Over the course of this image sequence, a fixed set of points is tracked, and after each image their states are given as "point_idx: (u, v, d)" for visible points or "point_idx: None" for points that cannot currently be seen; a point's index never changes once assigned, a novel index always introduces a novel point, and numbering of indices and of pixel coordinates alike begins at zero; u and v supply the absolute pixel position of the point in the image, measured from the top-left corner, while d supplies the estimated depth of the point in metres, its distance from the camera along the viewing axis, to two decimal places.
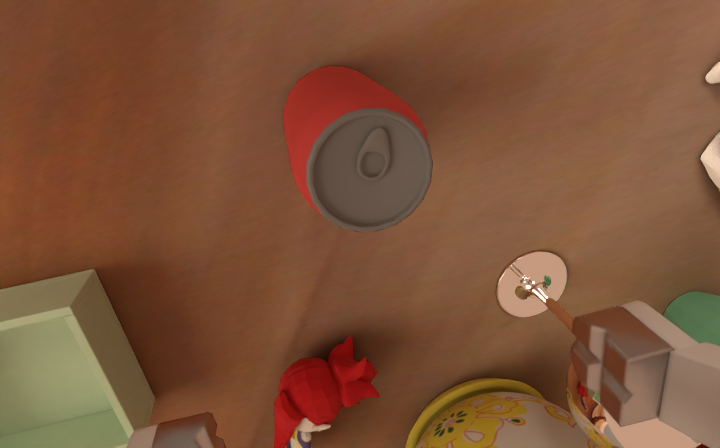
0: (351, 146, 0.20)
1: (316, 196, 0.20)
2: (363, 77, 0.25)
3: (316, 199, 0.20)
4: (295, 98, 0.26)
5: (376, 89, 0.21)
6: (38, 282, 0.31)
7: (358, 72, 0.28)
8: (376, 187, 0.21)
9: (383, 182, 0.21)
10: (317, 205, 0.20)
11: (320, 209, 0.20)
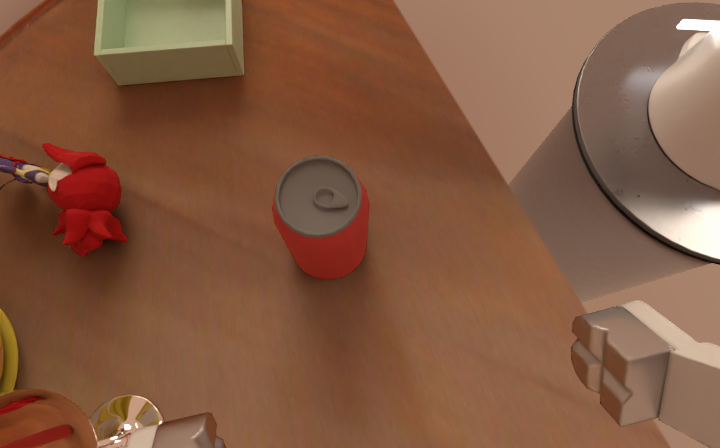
0: (337, 186, 0.30)
1: (308, 159, 0.30)
2: (364, 242, 0.36)
3: (306, 159, 0.30)
4: None
5: (367, 217, 0.32)
6: (242, 43, 0.47)
7: (362, 257, 0.39)
8: (306, 200, 0.30)
9: (309, 204, 0.30)
10: (301, 159, 0.30)
11: (298, 161, 0.30)
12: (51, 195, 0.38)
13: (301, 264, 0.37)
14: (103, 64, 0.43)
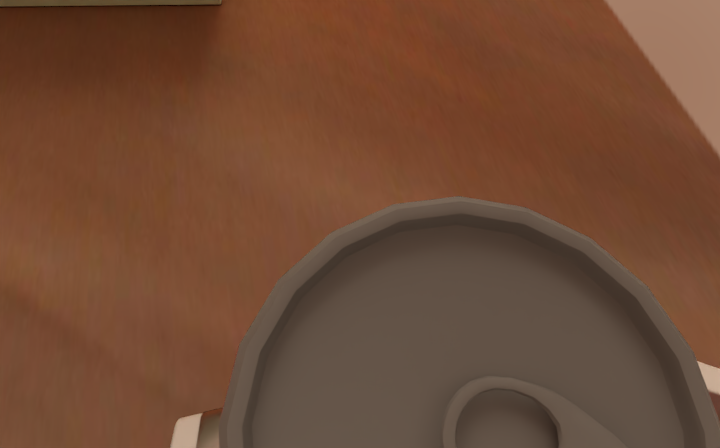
0: (569, 370, 0.06)
1: (415, 216, 0.06)
2: None
3: (404, 216, 0.06)
4: None
5: None
6: None
7: None
8: None
9: None
10: (381, 214, 0.06)
11: (364, 221, 0.06)
12: None
13: None
14: None
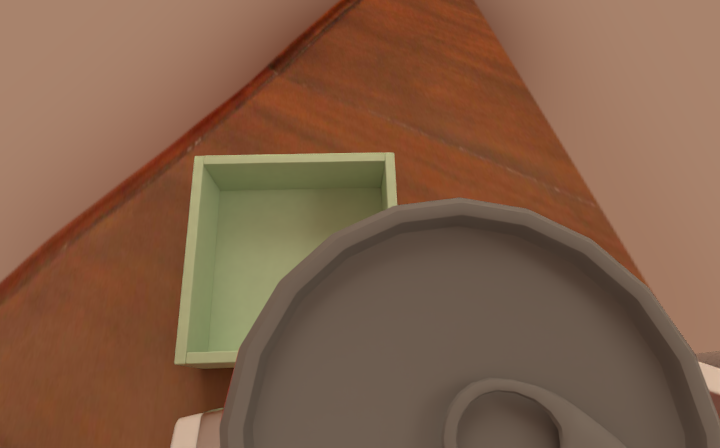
0: (571, 373, 0.06)
1: (416, 217, 0.06)
2: None
3: (405, 217, 0.06)
4: None
5: None
6: None
7: None
8: None
9: None
10: (382, 216, 0.06)
11: (365, 223, 0.06)
12: None
13: None
14: (186, 365, 0.26)
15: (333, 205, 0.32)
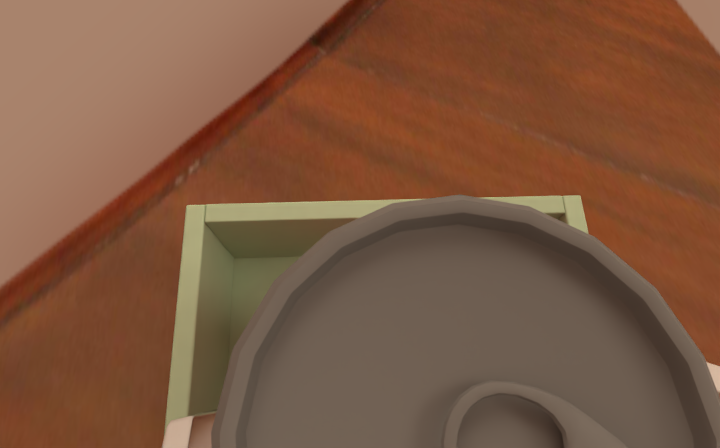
0: (574, 374, 0.05)
1: (415, 215, 0.06)
2: None
3: (404, 214, 0.06)
4: None
5: None
6: None
7: None
8: None
9: None
10: (380, 213, 0.06)
11: (363, 221, 0.06)
12: None
13: None
14: None
15: None
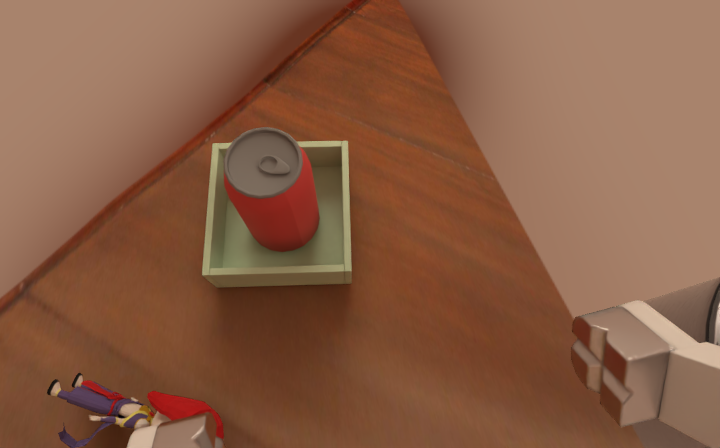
0: (282, 155, 0.34)
1: (257, 130, 0.34)
2: (311, 215, 0.39)
3: (255, 130, 0.34)
4: None
5: (309, 187, 0.35)
6: None
7: (312, 232, 0.42)
8: (252, 165, 0.33)
9: (254, 169, 0.33)
10: None
11: (248, 131, 0.34)
12: None
13: (253, 232, 0.40)
14: (208, 279, 0.39)
15: None
